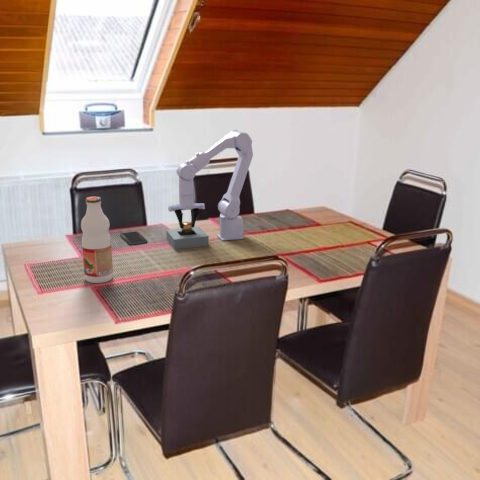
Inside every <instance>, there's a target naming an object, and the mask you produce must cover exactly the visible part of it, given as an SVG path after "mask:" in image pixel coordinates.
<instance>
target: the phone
mask: <svg viewBox="0 0 480 480" xmlns="http://www.w3.org/2000/svg"><path fill="white" fill-rule="evenodd" d="M119 236H120V237H121V238H122V239H123V241H126V242H125V243H126V244H127V245H129V246H136V245H143V244H147V243H148V240H147V238H145V237H144V235H142V234H141V233H140V232H139V231H129V232H128V231H127V232H121V233H120V234H119Z"/></svg>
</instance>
